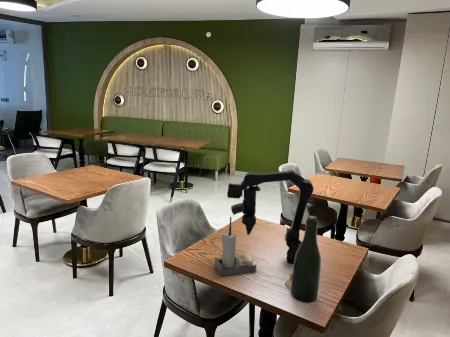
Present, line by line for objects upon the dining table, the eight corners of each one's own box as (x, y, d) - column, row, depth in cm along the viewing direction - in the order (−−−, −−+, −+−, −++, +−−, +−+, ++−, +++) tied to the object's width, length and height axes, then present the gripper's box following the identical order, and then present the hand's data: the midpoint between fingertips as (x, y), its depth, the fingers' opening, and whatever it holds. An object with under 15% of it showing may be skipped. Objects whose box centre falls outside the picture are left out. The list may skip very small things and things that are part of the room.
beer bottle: (300, 285, 138) (308, 209, 130) (322, 297, 130) (332, 217, 123) (284, 294, 131) (292, 215, 124) (307, 307, 123) (316, 224, 116)
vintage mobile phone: (225, 266, 150) (227, 213, 145) (234, 270, 147) (237, 216, 142) (220, 269, 147) (222, 216, 142) (228, 273, 144) (231, 219, 139)
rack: (248, 261, 155) (248, 253, 154) (255, 272, 147) (256, 263, 146) (214, 265, 150) (215, 257, 149) (220, 276, 142) (221, 268, 141)
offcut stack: (248, 263, 154) (248, 254, 153) (253, 270, 148) (253, 260, 147) (235, 265, 152) (235, 255, 151) (239, 272, 146) (240, 262, 145)
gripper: (233, 192, 164) (232, 222, 168) (231, 204, 146) (230, 238, 149) (256, 193, 163) (254, 223, 167) (256, 205, 145) (255, 239, 149)
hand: (248, 230), depth 158 cm, fingers open, 9 cm apart
